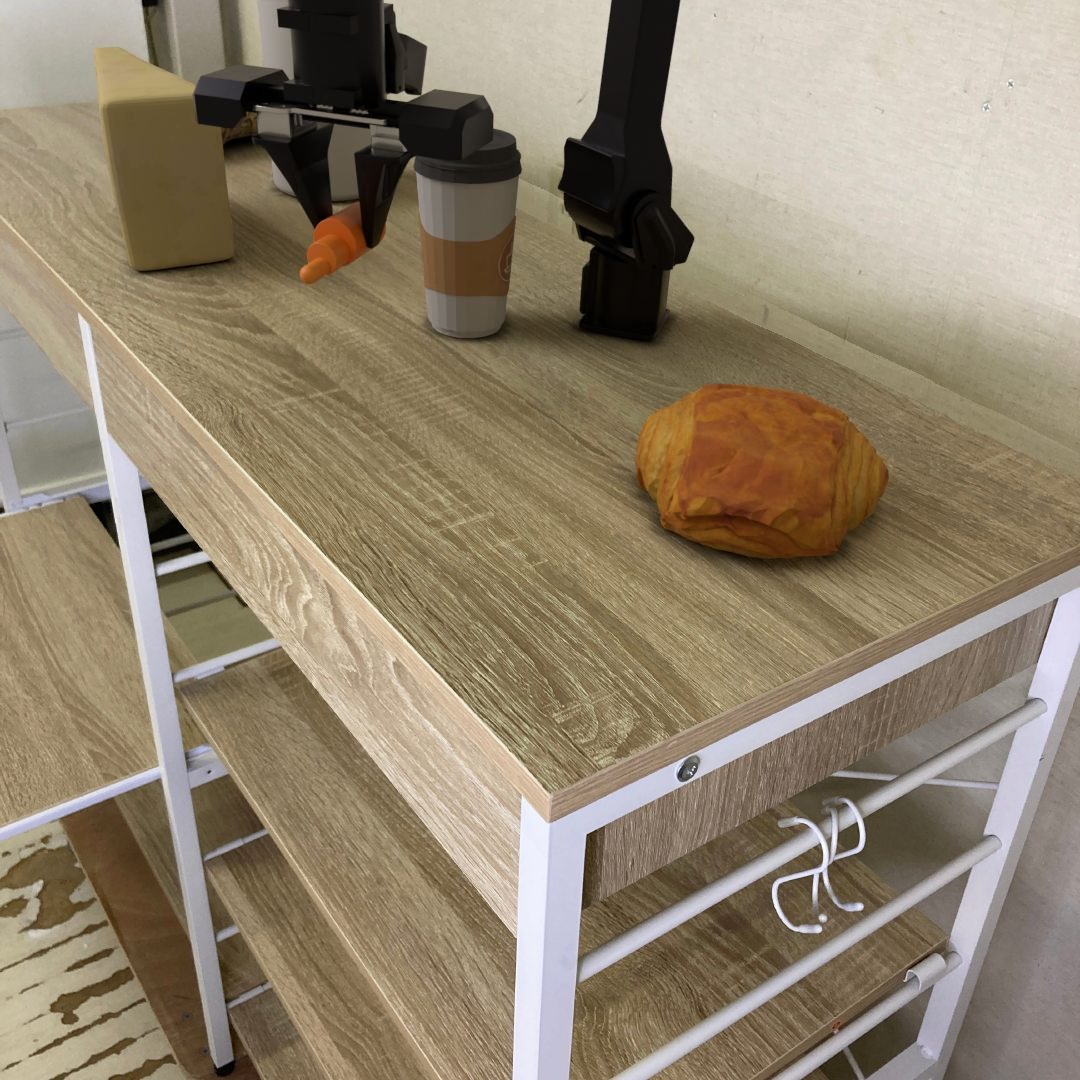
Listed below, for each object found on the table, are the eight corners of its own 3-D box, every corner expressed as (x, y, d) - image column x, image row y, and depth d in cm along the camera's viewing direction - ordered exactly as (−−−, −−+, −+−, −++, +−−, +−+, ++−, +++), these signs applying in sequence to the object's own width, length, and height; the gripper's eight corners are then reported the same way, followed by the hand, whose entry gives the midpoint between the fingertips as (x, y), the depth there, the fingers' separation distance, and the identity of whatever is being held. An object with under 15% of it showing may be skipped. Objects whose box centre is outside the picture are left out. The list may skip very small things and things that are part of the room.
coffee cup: (503, 350, 87) (509, 157, 78) (403, 337, 88) (398, 145, 80) (526, 311, 94) (533, 129, 85) (432, 299, 95) (430, 119, 86)
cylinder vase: (269, 202, 115) (244, -68, 101) (278, 169, 125) (256, -81, 111) (389, 203, 116) (381, -63, 102) (388, 170, 127) (380, -77, 113)
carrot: (327, 291, 70) (325, 242, 68) (283, 281, 71) (280, 233, 69) (398, 242, 78) (398, 197, 76) (358, 233, 79) (357, 189, 77)
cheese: (81, 203, 112) (51, 44, 103) (177, 193, 116) (156, 40, 108) (129, 276, 96) (98, 96, 88) (238, 261, 100) (219, 88, 92)
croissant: (667, 458, 78) (665, 351, 74) (894, 482, 72) (905, 367, 68) (597, 557, 67) (591, 437, 63) (860, 595, 61) (871, 466, 57)
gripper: (527, -14, 69) (520, 228, 78) (270, -40, 74) (290, 191, 83) (458, 10, 61) (458, 280, 69) (171, -21, 65) (205, 235, 74)
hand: (349, 242), depth 74 cm, fingers closed on carrot, 3 cm apart
